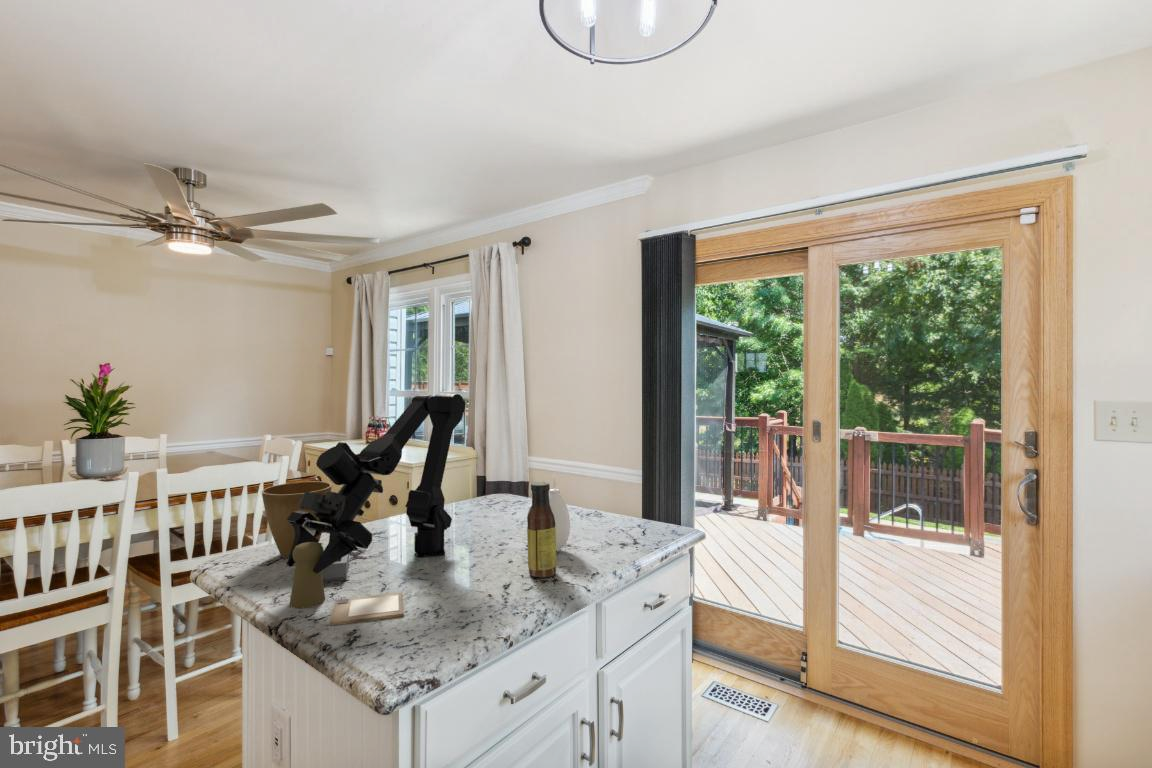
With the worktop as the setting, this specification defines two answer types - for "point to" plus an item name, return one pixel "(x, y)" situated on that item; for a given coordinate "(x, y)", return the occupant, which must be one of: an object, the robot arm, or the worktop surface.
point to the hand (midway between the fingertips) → (301, 568)
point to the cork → (307, 576)
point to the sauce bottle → (541, 533)
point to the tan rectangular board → (367, 608)
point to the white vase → (559, 517)
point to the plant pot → (288, 509)
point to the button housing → (336, 570)
